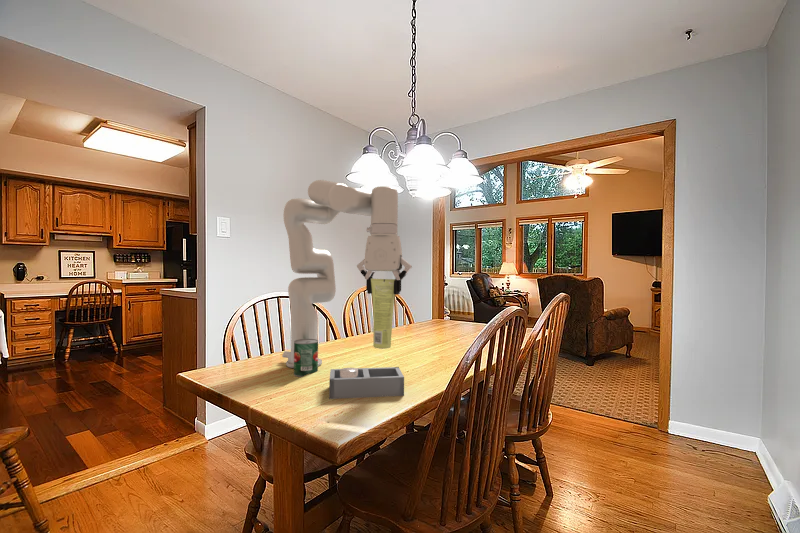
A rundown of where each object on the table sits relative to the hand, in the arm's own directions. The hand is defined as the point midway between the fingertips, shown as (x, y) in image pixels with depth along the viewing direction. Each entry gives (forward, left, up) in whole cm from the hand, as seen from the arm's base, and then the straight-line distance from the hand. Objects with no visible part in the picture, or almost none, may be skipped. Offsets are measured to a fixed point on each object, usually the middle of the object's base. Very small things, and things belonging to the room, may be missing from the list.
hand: (383, 293), depth 109 cm
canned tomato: (-31, +10, -29) cm, 44 cm away
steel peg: (-8, -4, -27) cm, 29 cm away
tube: (0, 0, -16) cm, 16 cm away
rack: (-4, -2, -28) cm, 29 cm away
